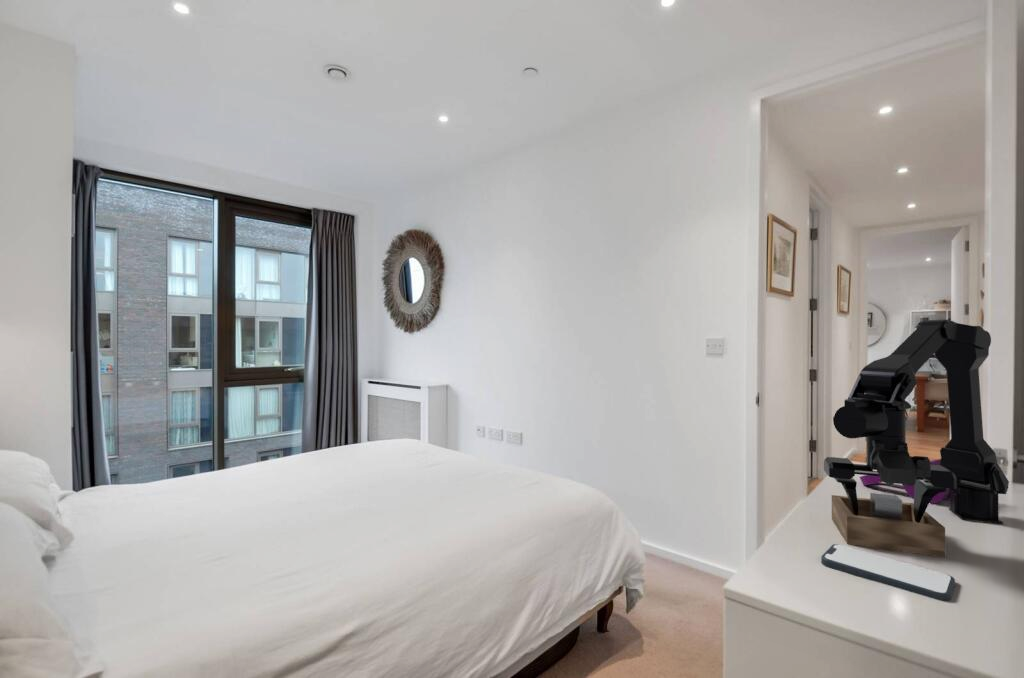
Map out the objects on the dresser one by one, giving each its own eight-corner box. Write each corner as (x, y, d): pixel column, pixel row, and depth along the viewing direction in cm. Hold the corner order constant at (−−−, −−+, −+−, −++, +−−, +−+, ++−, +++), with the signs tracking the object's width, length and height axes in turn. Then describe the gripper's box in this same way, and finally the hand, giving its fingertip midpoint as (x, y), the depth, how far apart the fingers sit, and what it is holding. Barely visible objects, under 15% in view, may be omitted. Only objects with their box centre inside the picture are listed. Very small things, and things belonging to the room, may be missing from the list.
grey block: (890, 526, 93) (890, 490, 93) (902, 539, 87) (902, 500, 87) (865, 523, 95) (865, 487, 95) (875, 535, 89) (875, 497, 89)
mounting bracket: (868, 513, 120) (952, 500, 105) (852, 478, 123) (931, 462, 109) (887, 506, 124) (970, 493, 110) (871, 473, 127) (949, 456, 113)
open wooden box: (916, 529, 94) (916, 503, 94) (945, 557, 82) (945, 527, 82) (831, 519, 100) (831, 495, 100) (847, 544, 88) (847, 516, 88)
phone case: (955, 586, 74) (833, 550, 86) (956, 575, 74) (834, 541, 86) (949, 608, 68) (818, 567, 80) (949, 596, 68) (819, 557, 80)
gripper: (835, 438, 86) (836, 526, 86) (971, 447, 78) (972, 543, 78) (823, 427, 96) (823, 506, 96) (942, 434, 89) (942, 519, 89)
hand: (886, 518), depth 89 cm, fingers open, 9 cm apart
